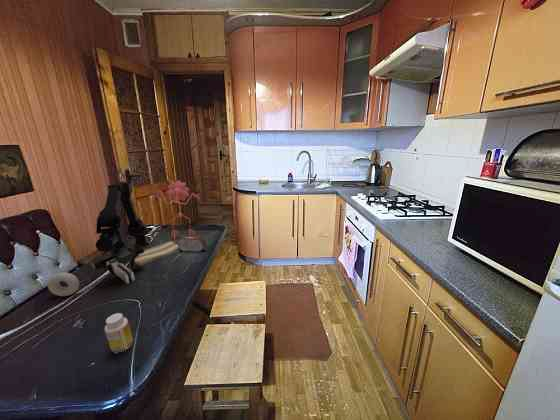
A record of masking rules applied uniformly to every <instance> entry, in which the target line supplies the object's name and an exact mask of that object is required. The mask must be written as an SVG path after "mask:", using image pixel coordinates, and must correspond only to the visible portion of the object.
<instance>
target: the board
mask: <svg viewBox="0 0 560 420" xmlns="http://www.w3.org/2000/svg"><path fill="white" fill-rule="evenodd" d="M179 251H182V250H181V249H179V247H178V244H177V243H175V242H173V241H171V240H169V241H167V242H163V243H161V244H158V245H155V246H152V247H149V248H147V249H144V253H142V254H139V256H138V257H136V258H135V261H134V263H135V264H136V265H138V266H139V267H142V266H145V265H148V264H150V263H151V262H154V261H157V260H159V259H162V258H164V257H167V256H168V255H169V256H170V255H171V254H173V253H177V252H179Z"/></svg>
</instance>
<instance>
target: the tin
mask: <svg viewBox="0 0 560 420" xmlns="http://www.w3.org/2000/svg"><path fill="white" fill-rule="evenodd" d="M176 244H178V247H179V249H181V250H180V251H182V252H188V253H189V252H190V253H191V252H192V253H193V252H194V253H196V252H197V253H200V252H202V251H204V249H205V248H206V246H207V242H206V240H205V239H204V237H201V236H198V235H196V236H195V235H191V236H190V235H183V236H181V237H180V238H179V239H178V240H177V243H176Z"/></svg>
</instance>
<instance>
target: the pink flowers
mask: <svg viewBox="0 0 560 420" xmlns="http://www.w3.org/2000/svg"><path fill="white" fill-rule="evenodd" d="M186 185H187V184H186V182H182V181H181V180H178V181H176V182H175V181H174V180H172V181H171V182H170V185H167V188H168V190H167V191H166V194H167V195H168V196H169V198H170V200H173V199H174V201H171V202H166V199H165V197H164V193H163V191H162V190H159V191H156V193H155V194H154V195H155V196H154V197H155V198H156V200H158V199H160V198H161V197H162V198H163V201H164V203H165V205H167V204H173V203H175V204H178V205H180V207H179V212H178V213H177V215H176V216H175V217H174V218H173V219H171V220H170V223H171V227H172V229H173V230H172V232H171V234H170V236H171V237H173V241H176V237H177V236H178V234H179V231H178V230H177V229H175V227H174V225H173V221H174V220H175V219H176V218H183V217H184V218H186V219H188V221H189V222H191V219H190V218H189V217H187V216H184V214H183V213H182V212H181V211H182V205H187V204H188V202H189V201H190V199H191V198H192V196H193V197H194V198H196V199H197V200H198V201H201V200H202V198H201V197H200V196H199V195H198V194H196V193H194V192H191V195H190V194H189V191H190V188H189V187H187V186H186ZM186 198H188V199H187V201H186ZM181 201H182V202H181ZM184 201H186V202H184ZM191 228H192V227H191V226H189V229H188V230H187V233H188V234H189V236H197V233H196V231H195V230H193V229H191Z"/></svg>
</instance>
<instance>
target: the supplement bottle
mask: <svg viewBox="0 0 560 420" xmlns="http://www.w3.org/2000/svg"><path fill="white" fill-rule="evenodd" d="M105 324H106V325H105V326H104V333H105V336H106V339H107V342H108V344H109V349H110V351H111V352H112V353H113V352H114V354H119V353H118V352H121V353H123V352H125V351H127V350H128V349H129V348H130V347H132V345H133V342H134V339H133V338H134V337H133V335H132V334H133V333H132V330H131V326H130V324H129V321H128V318H126V317H124V316H123V313H121V312H116V313H113V314H112V315H110V316H108V317H107V318H106V320H105ZM126 349H127V350H126ZM124 350H125V351H124ZM122 351H123V352H122Z"/></svg>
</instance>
